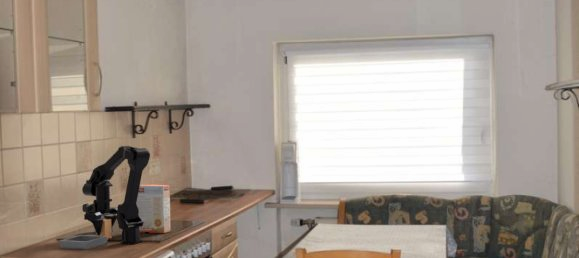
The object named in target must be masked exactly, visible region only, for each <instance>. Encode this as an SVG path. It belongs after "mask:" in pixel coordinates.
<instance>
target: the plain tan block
mask: <svg viewBox="0 0 579 258" xmlns="http://www.w3.org/2000/svg"><path fill="white" fill-rule="evenodd" d="M112 234H113V232H112V231H111V219H103V224H102V229H101V233H100V235H97V233H95V236H107V240H109V239H108V238H110V239H112Z"/></svg>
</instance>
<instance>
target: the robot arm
mask: <svg viewBox="0 0 579 258" xmlns="http://www.w3.org/2000/svg"><path fill="white" fill-rule="evenodd" d="M150 159H151V153H150V151H149V150H148V149H147V148H145V147H141V148H140V147H133V146H131V145H121V146H119V147H118V148H117V150H116V151H115V153H114V154H112V156H111V157H109V158H108V159H107V161H105V163H102V164H101V165H98V166H96V167H95V168H93V170H92V173H91V175H90V177H89V179H86V181H85V183H84V184H83V186H82V194H83V195H84V196H87V197H95V199H93V201H92V202H93V203H91V204H89V203H88V202H87V203H84V204H82V207H81V208H82V212H83V213H84V215H83V220H84V221H86V220H87V221H88V222H89V223H92V225H93V227H94V231H95V230H96V233H97V235H100V233H101V229H102V224H103V219H101V217H102V216H104V217H105V219H111V230H112V227H113V228H114V225H115V224H116V222H117V225H118V228H119V229H120V230H122V231H121V241H120V244H124V245H127V244H128V245H136V244H138V243H141V242H142V243H143V240H142V239H141V232H140V227H142V226H143V223H144V222H143V220H142V219H141V217H140V216H139V209H138V207H137V197H138V192H139V187H140V185H141V180H142V176H143V171H144V170H145V168H146V167H147V165H148V164H149V161H150ZM126 160H127V165H128V167H129V171H128V172H129V173H128V179H127V184H126V187H125V188H126V189H125V195H124V199H123V200H124V201H123V203H121V204H118V205H117V207H116V206H113V207H112V206H111V202H113V199H112V198H111V194H110V191H111V190H110V189H111V187H113V184H112V182H110V180H111V179H112V177H113V176H114V174H115V170H116V169H117V168H119V166H120V165H121V164H122V163H123V162H124V161H126ZM96 233H95V234H96Z"/></svg>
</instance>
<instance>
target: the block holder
mask: <svg viewBox="0 0 579 258" xmlns="http://www.w3.org/2000/svg"><path fill="white" fill-rule="evenodd" d="M107 244H108V239H107V236H96V235H90V234H89V235H87V234H86V235H85V234H79V235H76V236H72V237H68V238H64V239H60V240H59V249H70V250H82V251H83V250H85V251H87V250H90V249H91V250H92V249H94V248H98V247H101V246H105V245H107Z"/></svg>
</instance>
